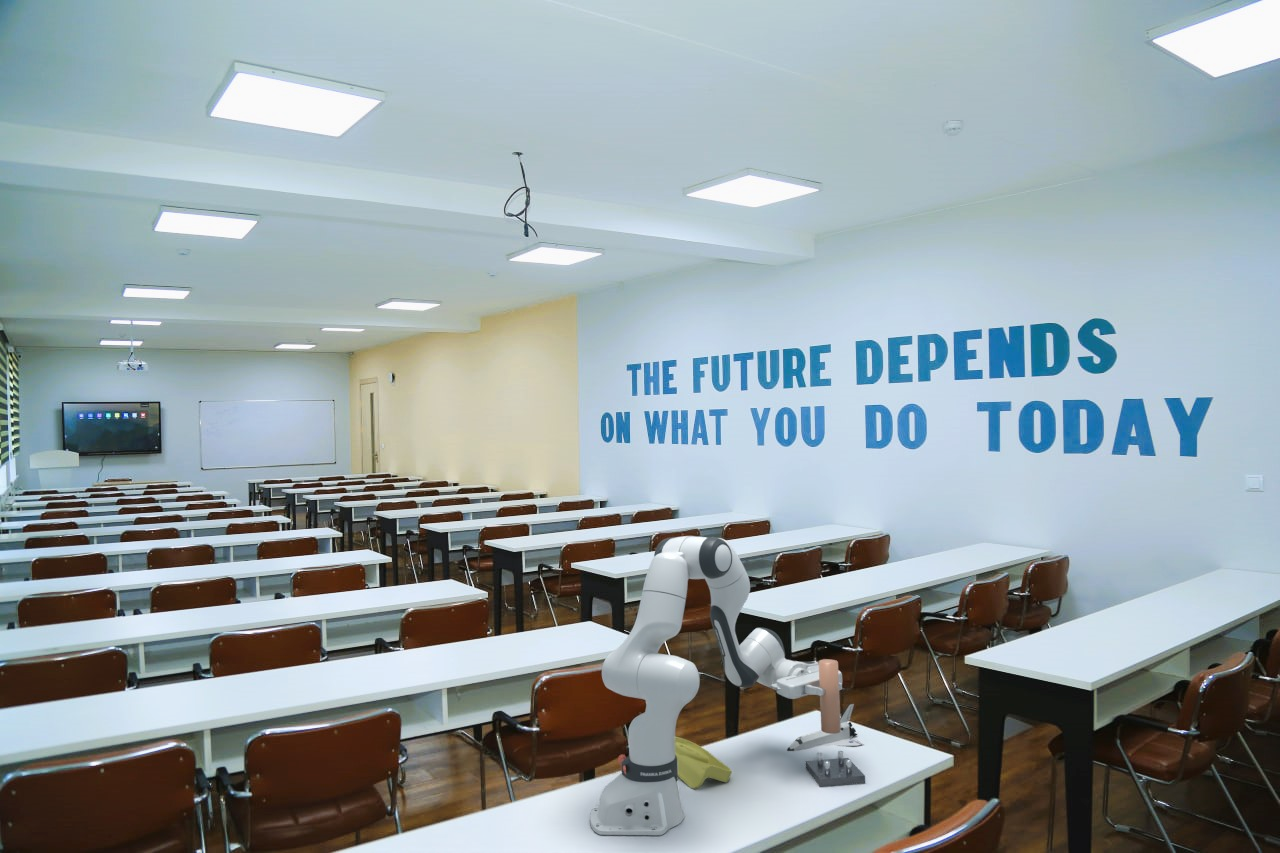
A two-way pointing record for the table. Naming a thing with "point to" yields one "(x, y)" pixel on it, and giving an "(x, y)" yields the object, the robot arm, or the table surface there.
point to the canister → (829, 696)
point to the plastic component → (698, 764)
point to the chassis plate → (834, 771)
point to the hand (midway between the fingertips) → (831, 689)
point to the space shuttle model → (829, 736)
